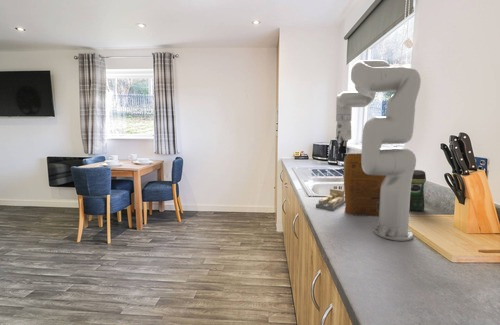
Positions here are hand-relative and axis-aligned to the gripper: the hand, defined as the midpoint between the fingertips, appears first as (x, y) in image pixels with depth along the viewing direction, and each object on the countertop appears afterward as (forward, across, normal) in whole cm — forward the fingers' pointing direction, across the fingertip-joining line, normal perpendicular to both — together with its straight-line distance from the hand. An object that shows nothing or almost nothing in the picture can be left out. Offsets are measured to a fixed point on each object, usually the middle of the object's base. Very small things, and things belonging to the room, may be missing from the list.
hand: (342, 153), depth 140 cm
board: (+25, -11, 0) cm, 27 cm away
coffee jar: (+25, +3, -32) cm, 41 cm away
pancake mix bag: (+25, -18, -17) cm, 35 cm away
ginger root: (+23, -13, 0) cm, 27 cm away
